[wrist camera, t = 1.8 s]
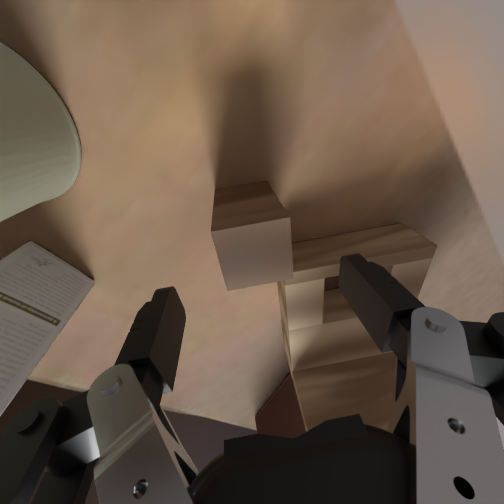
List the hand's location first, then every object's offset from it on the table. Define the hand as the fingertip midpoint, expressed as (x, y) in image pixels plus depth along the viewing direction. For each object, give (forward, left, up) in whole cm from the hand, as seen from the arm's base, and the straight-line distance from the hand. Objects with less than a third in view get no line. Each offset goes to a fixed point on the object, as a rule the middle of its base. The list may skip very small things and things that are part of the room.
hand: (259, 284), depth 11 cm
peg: (0, 0, -9) cm, 9 cm away
